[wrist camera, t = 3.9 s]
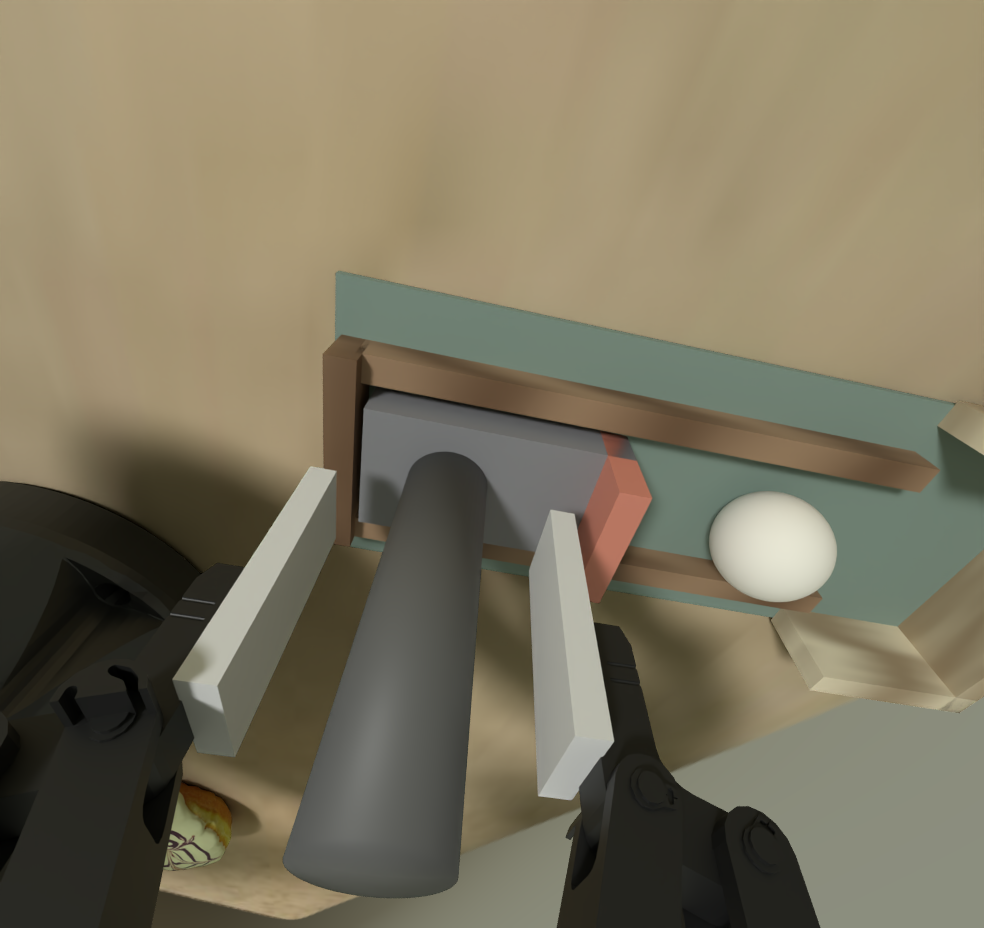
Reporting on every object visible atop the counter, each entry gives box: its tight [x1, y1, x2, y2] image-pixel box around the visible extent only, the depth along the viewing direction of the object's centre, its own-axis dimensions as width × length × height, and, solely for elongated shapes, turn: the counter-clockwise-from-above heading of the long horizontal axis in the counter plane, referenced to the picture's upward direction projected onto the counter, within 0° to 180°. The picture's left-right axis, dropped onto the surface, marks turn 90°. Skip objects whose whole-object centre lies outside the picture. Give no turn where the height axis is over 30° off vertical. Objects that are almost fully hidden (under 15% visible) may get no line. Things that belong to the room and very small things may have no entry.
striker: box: [283, 387, 652, 898], centre depth 12 cm, size 9×5×12 cm, turn 79°
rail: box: [323, 334, 940, 613], centre depth 17 cm, size 21×8×2 cm, turn 79°
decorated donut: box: [163, 782, 232, 871], centre depth 37 cm, size 10×11×4 cm
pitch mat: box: [335, 271, 984, 627], centre depth 18 cm, size 28×12×1 cm, turn 79°
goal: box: [771, 401, 984, 713], centre depth 18 cm, size 7×12×4 cm, turn 169°
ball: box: [709, 491, 837, 602], centre depth 17 cm, size 4×4×4 cm
